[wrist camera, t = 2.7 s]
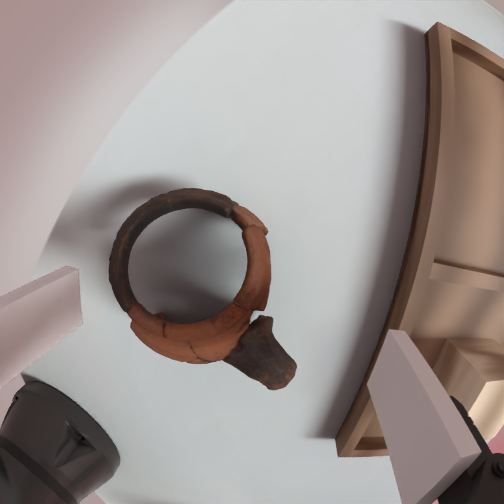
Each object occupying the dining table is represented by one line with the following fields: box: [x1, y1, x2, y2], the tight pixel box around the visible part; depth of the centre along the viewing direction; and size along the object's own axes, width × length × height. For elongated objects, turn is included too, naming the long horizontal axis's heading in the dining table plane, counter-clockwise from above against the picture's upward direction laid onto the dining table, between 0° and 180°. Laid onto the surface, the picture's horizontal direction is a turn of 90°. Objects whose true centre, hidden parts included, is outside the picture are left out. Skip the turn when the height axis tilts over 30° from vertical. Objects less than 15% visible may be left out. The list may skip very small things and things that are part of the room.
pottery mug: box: [109, 188, 297, 390], centre depth 16 cm, size 12×10×8 cm
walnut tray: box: [335, 22, 504, 457], centre depth 15 cm, size 17×33×2 cm, turn 171°
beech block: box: [432, 338, 504, 440], centre depth 15 cm, size 6×6×6 cm
